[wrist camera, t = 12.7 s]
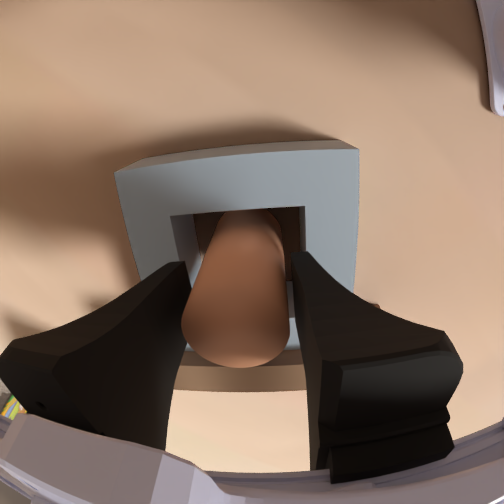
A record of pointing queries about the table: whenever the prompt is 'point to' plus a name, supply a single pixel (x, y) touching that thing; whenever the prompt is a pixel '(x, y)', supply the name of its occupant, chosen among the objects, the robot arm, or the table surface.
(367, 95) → the table surface
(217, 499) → the robot arm
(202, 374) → the backstop wall
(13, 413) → the chalk box
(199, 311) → the dowel
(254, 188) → the block
